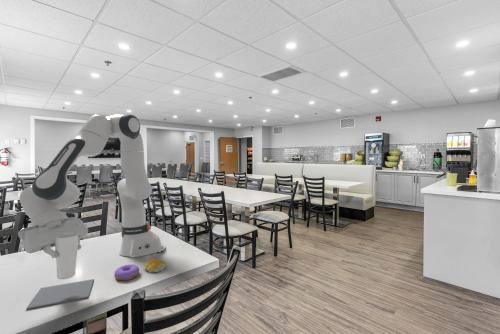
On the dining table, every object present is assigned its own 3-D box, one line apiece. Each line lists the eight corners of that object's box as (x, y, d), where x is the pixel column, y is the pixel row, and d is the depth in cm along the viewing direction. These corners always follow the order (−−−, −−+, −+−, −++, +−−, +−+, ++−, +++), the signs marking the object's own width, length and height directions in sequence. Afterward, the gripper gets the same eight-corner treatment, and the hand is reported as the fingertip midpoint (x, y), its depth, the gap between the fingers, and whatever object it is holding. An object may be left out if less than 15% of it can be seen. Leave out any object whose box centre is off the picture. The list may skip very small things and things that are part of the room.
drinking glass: (82, 274, 92) (82, 234, 92) (62, 282, 86) (63, 239, 86) (69, 271, 95) (70, 231, 95) (49, 279, 88) (50, 236, 88)
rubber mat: (93, 280, 101) (93, 279, 101) (88, 298, 88) (88, 296, 88) (40, 289, 94) (40, 288, 94) (26, 310, 81) (26, 308, 81)
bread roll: (155, 263, 118) (155, 255, 118) (168, 268, 114) (168, 259, 113) (140, 270, 111) (140, 261, 111) (153, 275, 107) (152, 265, 106)
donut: (115, 272, 108) (117, 261, 108) (138, 273, 111) (140, 262, 112) (111, 283, 99) (114, 270, 99) (136, 283, 102) (139, 272, 102)
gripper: (19, 224, 83) (39, 257, 79) (80, 212, 102) (98, 239, 99) (11, 236, 84) (30, 269, 81) (72, 222, 103) (89, 248, 100)
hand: (68, 252), depth 90 cm, fingers closed on drinking glass, 6 cm apart
